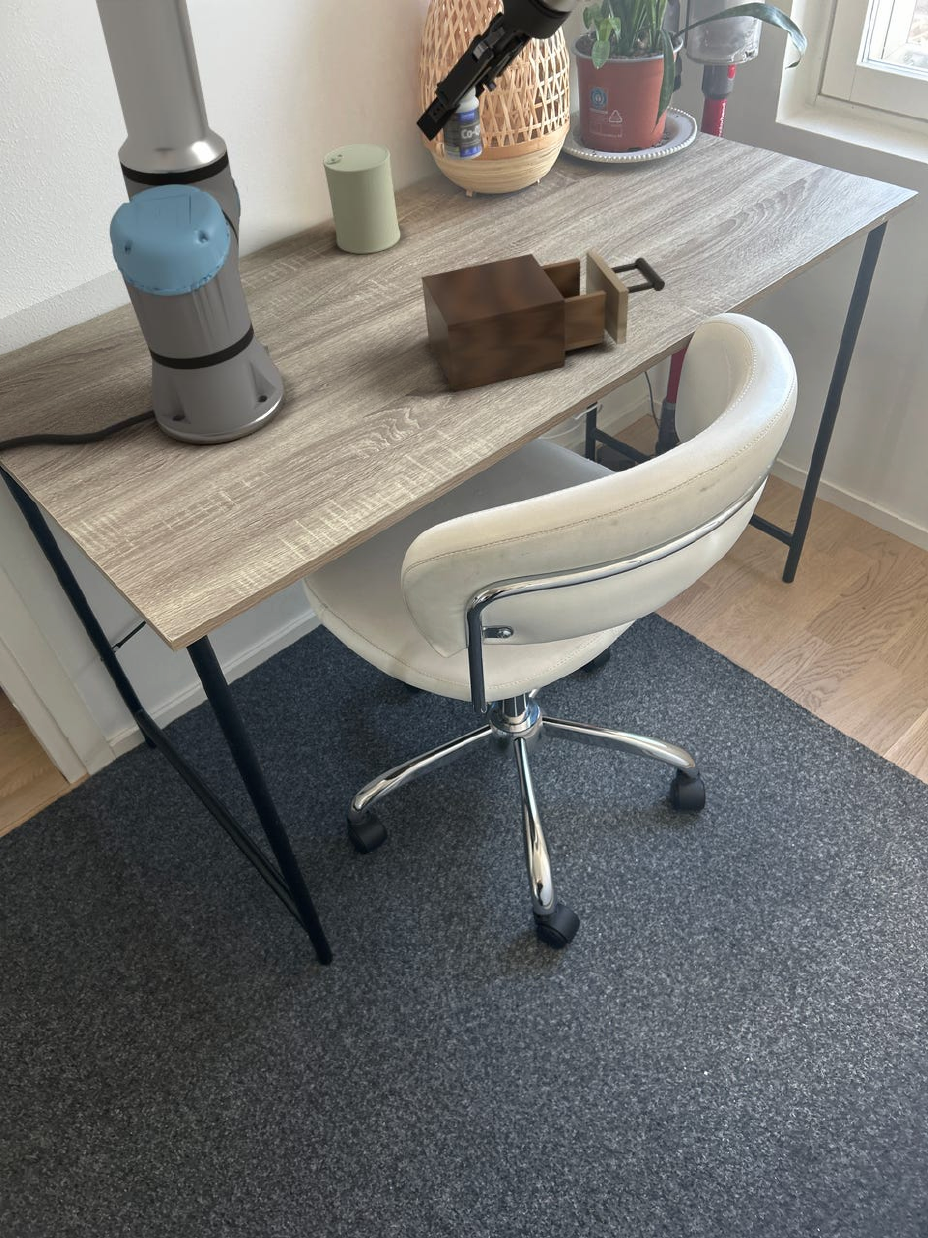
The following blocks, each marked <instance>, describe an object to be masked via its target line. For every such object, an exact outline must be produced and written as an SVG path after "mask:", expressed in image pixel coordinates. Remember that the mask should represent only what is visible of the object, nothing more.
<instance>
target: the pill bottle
mask: <svg viewBox="0 0 928 1238" xmlns="http://www.w3.org/2000/svg"><path fill="white" fill-rule="evenodd" d="M475 92H476V90H475V86H474V88H473V89H472V90H471V91H470V92H469V93H468V94H467V95H466V96H465V98H464V99H463V100H462V101H461V102H460V105H461V106H460V107H459V108H458V110H457V111H456V112H455V113H454V114H453V116H452V117H451V118H450V119H449V121H448V122H447V123H446V124H445V126H444V127H443V128H442V133H443V134H442V136H443V148H444V156H445V157H446V158H447V159H449V160H451V161H455V162H466V161H470V160H473V159H476V158H477V157H479V156H480V155H481V154H482V152H483V147H482V146H483V145H482V132H481V128H482V127H481V111H480V101H479V98H478V99H477V98H476V97H475V94H476V93H475Z"/></svg>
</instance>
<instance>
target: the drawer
mask: <svg viewBox="0 0 928 1238" xmlns="http://www.w3.org/2000/svg"><path fill="white" fill-rule="evenodd" d="M585 255H586V259H585V260H586V261H585V264H586V265H585V293H584V294H581V260H580V259H579V257H577V258H573V259H567V260H563V261H559V262H553V263H549V264H545V265H540V266H541V267H542V269H543V270H544V272H545V273H546V274H547V276H548V277H549V278H550V280H551V281H552V283H553V284H554V285H555V287H556V288H557V290H558V291H559V292H560V294H561V295H562V296H563V298H564V299H565V352H566V351H571V350H576V349H579V348H584V347H588V346H593V345H598V344H602V343H604V342H605V331H606V333H608V335H609V336H610V337H611V339H612V340H613V342H614V343H615V344H616V345H617V346H618V345H623V344H626V343H627V335H628V330H627V329H628V314H629V313H628V312H629V295H630V294H634V293H638V292H644V291H649V290H652V289H653V290H654V291H656V292H661V291H662V290H664V288H665V286H666V281H665V280H664V279H663V278H662V277H661V276H660V274H658V273H657V271H656V270H654V267H652V266H651V265H650V264H649V262H647V260H646V259H645V258H644V257H638V258H637V259H635V261H634V262H631V263H627V264H622V265H618V266H617V265H616V266H613V267H610V266H609V264H608V263H607V261H605V259H604V258H603V257H602V256H601V254H600V253H599V252H598V251H597V250H596V249H594V250H589V251H586V254H585ZM633 270H637V272H639V274H640V275H641V276H642V278H644V280H645V281H646V282H644V283H640V284H635V285H631V286H626V284H625V283H624V282H623V281H622V280H621V279H620V277H619V276H618V275H617V274H621V273H626V272H630V271H633Z"/></svg>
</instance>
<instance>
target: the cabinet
mask: <svg viewBox="0 0 928 1238" xmlns="http://www.w3.org/2000/svg"><path fill="white" fill-rule="evenodd" d="M541 266H542V265H541V264H539V262H538V261H537V259H536V257H534V255H533V254H532V253H529V254H523V255H519V256H514V257H509V258H505V259H500V260H496V261H491V262H487V263H481V264H476V265H472V266H468V267H463V268H459V269H453V270H449V271H443V272H440V273H434V274H430V275H426V276H421V283H422V293H423V301H424V309H425V318H426V319H425V320H426V327H427V328H426V329H427V336H428V342H429V345H430V346H431V348H432V350H433V352H434V354H435V356H436V359H437V361H438V363H439V364H440V366H441V369H442V370H443V372H444V374H445V376H446V379H447V380H448V383H449V385H450V387H451V389H452V391H453V393H454V392H455V393H456V392H460V391H464V390H469V389H472V388H477V387H482V386H485V385H489V384H494V383H499V382H503V381H507V380H511V379H515V378H520V377H525V376H529V375H534V374H537V373H542V372H547V371H551V370H555V369H560V368H564V367H565V366H566V351H565V299H564V298H563V296H562V295H561V294H560V292H559V291H558V290H557V288H556V287H555V285H554V284H553V283H552V281H551V280H550V278H549V277H548V276H547V274H546V273H545V272H544V270H543V269H542V267H541Z"/></svg>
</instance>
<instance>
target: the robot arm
mask: <svg viewBox="0 0 928 1238" xmlns="http://www.w3.org/2000/svg"><path fill="white" fill-rule="evenodd" d="M582 1H583V0H501V2H502V7H503V8H502V9H503V12H502V11H499V12H497V13H496V14H495V15H494V16H493V18H491V20H490V21H489V23H488V27H487V28H486V29H485V30H484V31H483V32H482V34H480V33H478V34H476V35H474V37H473V38H472V40H471V42H470V43H469V45H468V47H467V49H466V50H465V51H464V53H463V54H462V55H461V57H460V58H458V61H457V62H456V63H455V65H454V66H453V67H452V68H451V70H450V71H449V72H448V74H447V75H446V76H445V78H444V79H443V80H440V81H439V82H437V83H436V84H435V87H436V88H435V90H434V95H436V97H434V99H433V100H432V101H431V103H430V104H429V106H428V107H427V108H426V109H425V111H424V112H422V113H423V114H422V115H420V117H419V118H418V120H417V121H416V123H415V124H416V126H417V127H418V128H419V129H420V131H421V132H422V133H423V134H424V136H425V137H426V139H427V140H428V141H429V142H432V141H434V140H435V138H436V137H437V136H438V134H439V133H440V132H441V131H442V130H443V127H444V126H445V124H446V123H447V122H448V121H449V119H450V118H451V117H452V116H453V114H454V113H455V112H456V111H457V110H458V108H459V107H460V106H461V105H460V102H461V101H462V100H463V99H464V98H465V96H466V95H467V94H468V93H469V92H470V91H471V90H472V89H473V88H474V86H475V90H476V92H475V93H476V94H475V97H476V98H477V99H478V100H479V98H480V96H482V94H483V93H484V92H485V91H486V88H487V90H488V91H489V93H491V92H493V91H494V90H495V89H496V88H497V87H498V86H497V84H496V83H495V79H498V78H501V77H502V76H503V75H504V73H505V72H506V70H507V69H508V68H509V66H510V65H511V64H512V63H513V62H514V61H515V59H517V57H518V56H519V55H520V53H521V52H522V51H523V50H524V49H525V47H526V46H527V45H528V44H529V43H530V42H531V40H532V39H537V40H546V39H547V40H548V39H550V38H551V37H552V36H554V35H555V34H556V32H558V30H559V29H560V28H561V26H562V25H564V23H565V22H566V21H567V19H569V17H570V16H571V15H572V12H573V10H575V9H576V8H577V7H578V6H579V5H580V4H581V2H582ZM584 1H585V2H590V1H591V0H584ZM95 4H96V7H97V11H98V16H99V20H100V25H101V28H102V32H103V37H104V41H105V45H106V49H107V53H108V54H107V55H108V57H109V58H108V59H109V62H110V66H111V70H112V74H113V79H114V84H115V86H116V91H117V95H118V99H119V104H120V107H121V112H122V116H123V120H124V125H125V129H126V133H127V137H126V138H125V140H124V142H123V143H122V145H121V146H120V147H119V149H118V151H117V157H118V161H119V165H120V170H121V173H122V177H123V181H124V185H125V189H126V193H127V197H128V202H123V203H122V204H121V205H120V206H119V207H118V208H117V209H116V211H115V213H114V214H113V215H112V218H111V220H110V225H109V238H110V243H111V246H112V247H111V249H112V256H113V259H114V262H115V263H116V266H117V269H118V271H119V272H120V274H121V276H122V277H121V278H122V280H123V283H124V285H125V288H126V291H127V294H128V296H129V299H130V301H131V305H132V307H133V310H134V313H135V316H136V319H137V322H138V324H139V327H140V329H141V332H142V336H143V338H144V340H145V343H146V346H147V348H148V353H149V355H150V359H151V361H152V362H151V406H152V409H150V410H147V411H145V412H142V413H140V414H137V415H134V416H132V417H129V418H127V419H124V420H122V421H121V420H120V421H118V422H117V423H114V424H113V425H110V426H108V427H106V428H104V429H100V430H98V431H94V432H88V433H82V434H81V433H80V434H62V433H61V434H60V433H59V434H57V433H40V434H29V435H24V436H17V437H14V438H9V439H5V440H1V441H0V451H3V450H7V449H10V448H14V447H19V446H24V445H30V444H37V443H38V444H39V443H58V444H61V443H63V444H64V443H65V444H79V443H80V444H81V443H89V442H94V441H99V440H102V439H105V438H108V437H110V436H113V435H115V434H116V433H120V432H121V431H123V430H125V429H128V428H130V427H133V426H136V425H138V424H141V423H145V422H146V421H150V420H152V419H154V418H155V420H156V422H157V425H158V427H159V429H160V430H161V431H162V432H163V433H164V434H165V435H166V436H168V437H170V438H172V439H174V440H176V441H179V442H184V443H188V444H196V445H211V444H220V443H221V444H222V443H226V442H231V441H234V440H238V439H241V438H244V437H247V436H249V435H251V434H253V433H255V432H258V431H259V430H261V429H262V428H264V427H265V426H267V425H268V424H270V423H271V422H272V421H273V420H274V419H275V418H276V417H277V416H278V415H279V414H280V413H281V412H282V410H283V408H284V406H285V404H286V400H287V390H286V386H285V381H284V379H283V376H282V374H281V372H280V370H279V369H278V367H277V365H276V364H275V362H274V361H273V359H272V358H271V354H270V349H269V346H268V345H263V344H262V343H261V342H260V341H261V340H259V339H258V337H257V335H256V334H255V330H254V326H253V322H252V318H251V314H250V309H249V305H248V303H247V297H246V295H245V291H244V287H243V282H242V278H241V274H240V266H239V265H240V264H239V263H240V262H239V261H240V259H239V255H240V254H239V252H240V251H239V250H240V222H241V219H240V218H241V214H242V213H241V212H242V211H241V210H242V209H241V208H242V207H241V199H240V193H239V190H238V187H237V185H236V182H235V179H234V178H233V175H232V169H231V165H230V158H229V152H228V148H227V144H226V141H225V139H224V138H223V137H222V136H221V135H219V134H218V133H217V132H215V131H214V130H213V129H212V128H211V127H210V125H209V120H208V115H207V110H206V109H207V108H206V104H205V99H204V97H205V96H204V92H203V87H202V81H201V75H200V71H199V66H198V60H197V54H196V49H195V43H194V37H193V32H192V27H191V21H190V15H189V9H188V4H187V0H95ZM484 86H485V87H484Z"/></svg>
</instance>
